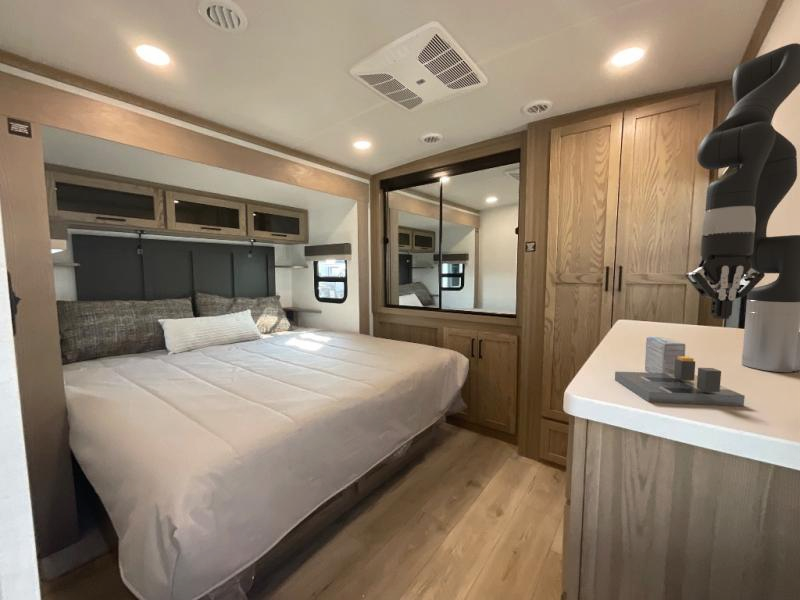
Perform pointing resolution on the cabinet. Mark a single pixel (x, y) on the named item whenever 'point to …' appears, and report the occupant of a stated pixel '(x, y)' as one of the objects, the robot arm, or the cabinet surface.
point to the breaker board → (675, 389)
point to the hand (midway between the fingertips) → (720, 318)
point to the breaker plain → (709, 379)
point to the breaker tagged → (684, 368)
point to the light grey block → (662, 354)
